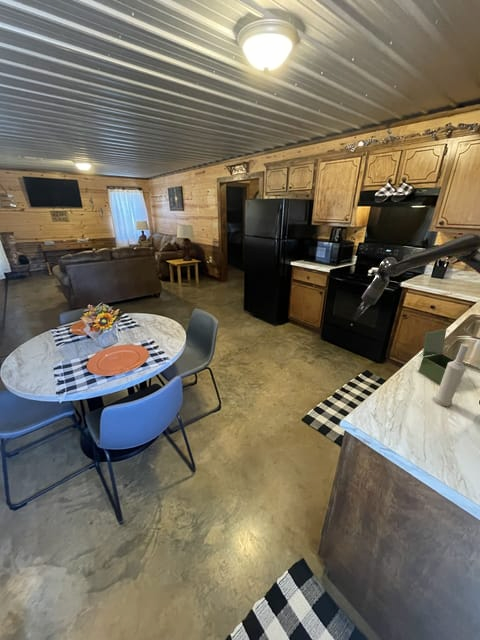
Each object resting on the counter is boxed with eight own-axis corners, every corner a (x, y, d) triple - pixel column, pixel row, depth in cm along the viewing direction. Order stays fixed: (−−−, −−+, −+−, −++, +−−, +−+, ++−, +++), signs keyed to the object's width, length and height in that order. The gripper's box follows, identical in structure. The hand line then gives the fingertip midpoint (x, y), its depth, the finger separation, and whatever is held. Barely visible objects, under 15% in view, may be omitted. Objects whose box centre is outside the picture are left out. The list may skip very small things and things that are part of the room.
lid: (446, 329, 115) (444, 329, 115) (427, 333, 112) (425, 332, 112) (442, 352, 118) (441, 352, 118) (424, 356, 114) (422, 356, 115)
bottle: (432, 401, 100) (454, 344, 90) (436, 395, 103) (457, 340, 93) (448, 408, 97) (473, 350, 87) (452, 402, 100) (476, 345, 90)
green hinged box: (459, 380, 112) (465, 365, 109) (440, 385, 109) (445, 370, 106) (436, 367, 121) (441, 353, 118) (418, 371, 118) (423, 357, 115)
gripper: (370, 286, 145) (355, 308, 155) (361, 294, 135) (346, 317, 146) (382, 293, 142) (367, 315, 152) (375, 301, 132) (359, 325, 143)
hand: (357, 316), depth 149 cm, fingers open, 8 cm apart
